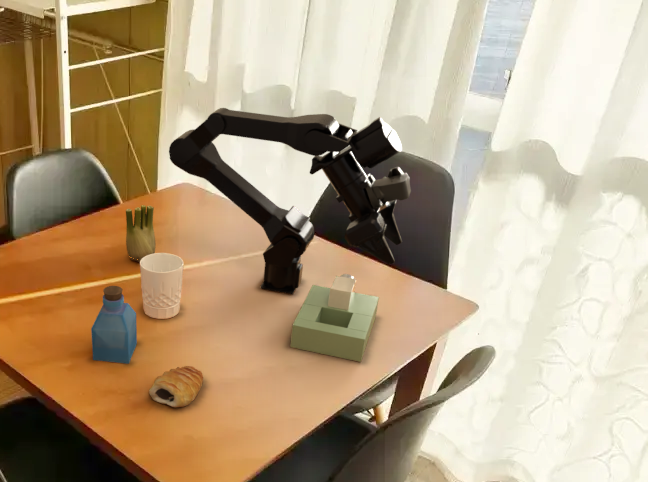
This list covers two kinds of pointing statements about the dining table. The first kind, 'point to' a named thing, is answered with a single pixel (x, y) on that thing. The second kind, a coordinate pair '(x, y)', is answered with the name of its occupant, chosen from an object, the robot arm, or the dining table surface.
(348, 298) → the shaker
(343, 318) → the stand
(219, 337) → the dining table surface
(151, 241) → the fennel bulb
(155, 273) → the white cup
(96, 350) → the perfume bottle
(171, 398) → the pastry
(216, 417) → the dining table surface
